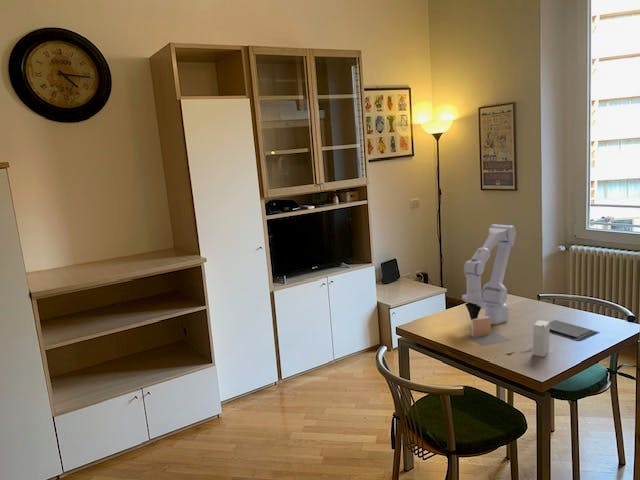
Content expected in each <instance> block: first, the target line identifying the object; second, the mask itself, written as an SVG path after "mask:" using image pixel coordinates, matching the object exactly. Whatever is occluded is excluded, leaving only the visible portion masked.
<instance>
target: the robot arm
mask: <svg viewBox="0 0 640 480" xmlns="http://www.w3.org/2000/svg"><path fill="white" fill-rule="evenodd" d="M516 236H517V232H516V228H515V226H514V225H510V224H509V225H507V224H506V225H505V224H496V223H492V224H491V225H490V227H489V228H488V237H487V238H486V239H485V242H484V244H483V245H482V247H478V248H477V249H476V251H475V252H474V254H473V255H472V257H471V259H469V260H467V261H465V263H464V264H463V268H462V270H463V273H464V277H465V278H466V280H465V281H466V293H465V294H462V295H461V300H463V301H464V302H465V304H464V306H465V307H466V309H467V311H468V313H469V318H470V320H471V319H476V318H479V314H480V311H481V309H484V317H487V316H489V317H491V325H498V324H499V325H500V324H502V323H506V322H509V307H508V305H507V304H506V302H507V298H508V297H507V295H508V294H507V293H508V289H507V288H506V286H505V285H504V284H503V282H504V278H505V274H506V269H507V265H508V261H509V257H510V252H511V247H512V246H515V245H514V244H515V240H516ZM496 245H497V251H496V254H495V260H494V263H493V267H492V273H491V276H490V281H488V282H486V283H484V285H483V288H482V275H483V272H484V271H485V267H486V263H487V262H488V260H489V258H490V257H491V251H492V250H493V248H494V247H495V246H496Z"/></svg>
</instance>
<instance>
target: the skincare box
mask: <svg viewBox="0 0 640 480" xmlns="http://www.w3.org/2000/svg"><path fill="white" fill-rule="evenodd" d="M550 322H551V321H548V320H547V321H546V320H537V321H536V322H535V323H534V324H533V332H532V355H533V356H535V357H536V356H537V357H541V358H542V357H543V358H544V357H545V356H546V355H547V354H548V353H549V350H550V349H549V348H550V333H549V330H550Z"/></svg>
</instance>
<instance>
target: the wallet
mask: <svg viewBox="0 0 640 480" xmlns="http://www.w3.org/2000/svg"><path fill="white" fill-rule="evenodd" d="M549 322H550V330H549V334H552V335H556V336H558V337H562V338H565V339H569V340H572V341H575V342H581V341H584V340H586V339H588V338H590V337H594V336H595V335H598V334H600V331H597V330H594V329H590V328H586V327H583V326H580V325H575V324H573V323H570V322H569V323H568V322H565V321H562V320H557V319H554V320H552V321H549Z"/></svg>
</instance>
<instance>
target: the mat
mask: <svg viewBox="0 0 640 480" xmlns="http://www.w3.org/2000/svg"><path fill="white" fill-rule="evenodd" d="M465 338H468V339H470V340H471V341H473V342H475V343H476V344H478V345H480V346H481V347H484V346H489V345H495V344H499V343H503V342H504V343H505V342H509V341H511V339H509V338H507V337H505V336H503V335H501V334H499V332H498V333H497V332H495V331H494V330H492V329H491V334H487V335H482V336H477V337H473V336H472V333H471V334H466V335H465Z"/></svg>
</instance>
